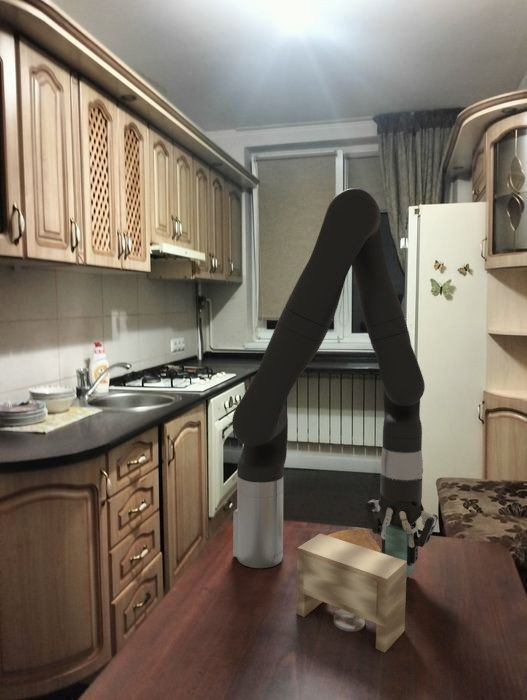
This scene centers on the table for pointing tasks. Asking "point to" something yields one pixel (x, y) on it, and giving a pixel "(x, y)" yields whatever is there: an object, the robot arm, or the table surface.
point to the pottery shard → (357, 538)
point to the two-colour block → (397, 544)
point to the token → (348, 621)
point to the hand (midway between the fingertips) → (399, 560)
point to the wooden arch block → (353, 584)
